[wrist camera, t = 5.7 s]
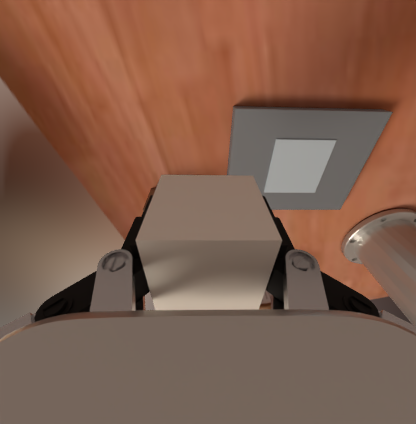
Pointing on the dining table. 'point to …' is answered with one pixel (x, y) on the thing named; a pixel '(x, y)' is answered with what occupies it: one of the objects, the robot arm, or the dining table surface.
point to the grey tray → (303, 152)
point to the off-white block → (207, 243)
